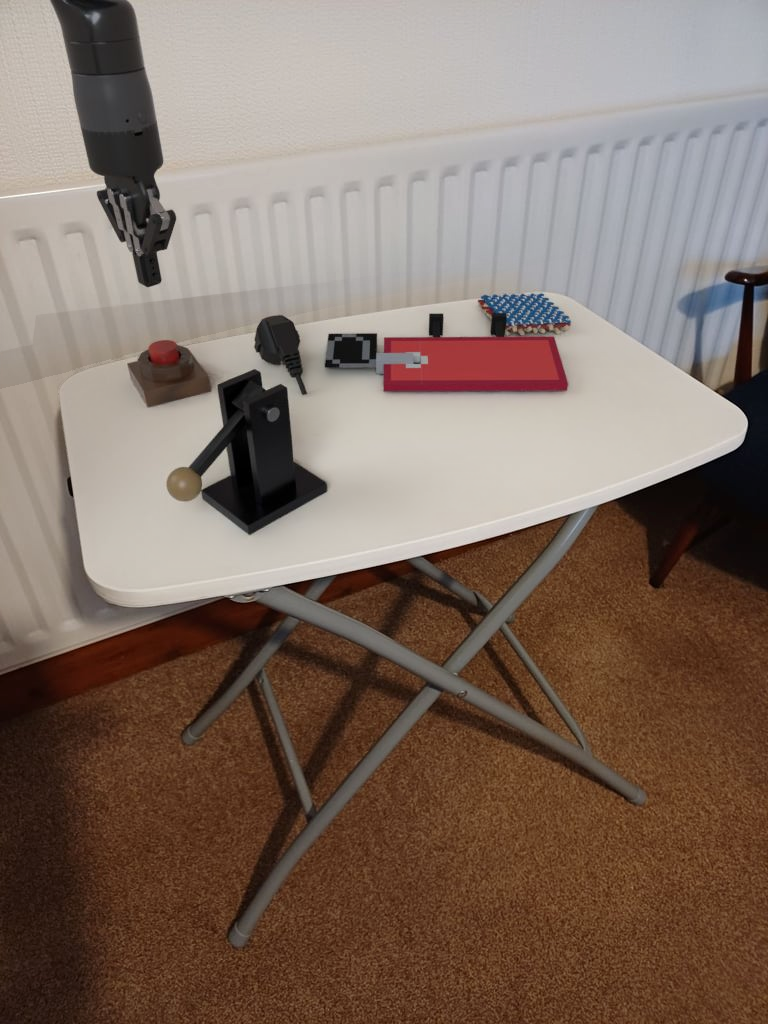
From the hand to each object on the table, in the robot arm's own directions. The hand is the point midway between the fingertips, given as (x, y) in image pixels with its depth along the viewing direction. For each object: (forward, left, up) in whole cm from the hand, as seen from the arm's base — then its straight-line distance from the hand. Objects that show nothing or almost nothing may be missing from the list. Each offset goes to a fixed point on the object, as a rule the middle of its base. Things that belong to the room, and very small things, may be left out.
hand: (150, 283), depth 90 cm
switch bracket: (+2, -27, -13) cm, 30 cm away
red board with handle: (+33, -12, -13) cm, 37 cm away
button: (0, 0, -10) cm, 10 cm away
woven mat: (+49, -7, -13) cm, 51 cm away
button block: (0, 0, -13) cm, 13 cm away
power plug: (+14, -5, -13) cm, 20 cm away
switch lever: (-1, -28, -6) cm, 29 cm away
